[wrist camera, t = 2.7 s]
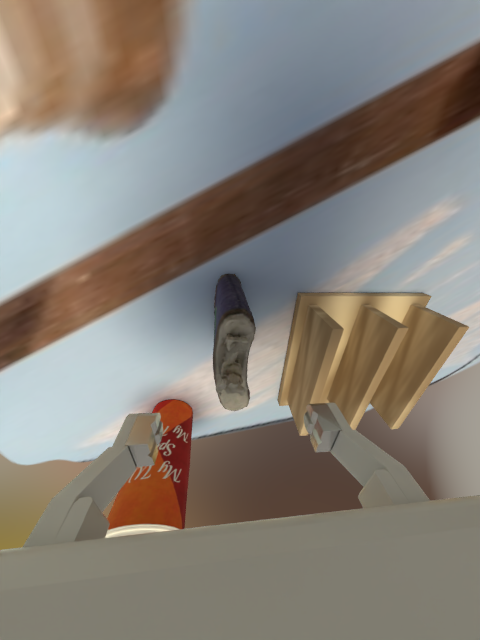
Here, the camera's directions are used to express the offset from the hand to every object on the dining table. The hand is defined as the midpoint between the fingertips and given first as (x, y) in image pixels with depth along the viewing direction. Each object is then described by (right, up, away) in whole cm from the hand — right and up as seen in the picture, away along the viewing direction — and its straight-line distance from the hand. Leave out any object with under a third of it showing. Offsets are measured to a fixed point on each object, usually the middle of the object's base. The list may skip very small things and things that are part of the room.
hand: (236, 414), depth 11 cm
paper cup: (-10, -8, +18) cm, 22 cm away
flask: (-1, +6, +11) cm, 12 cm away
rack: (+14, +1, +15) cm, 20 cm away
